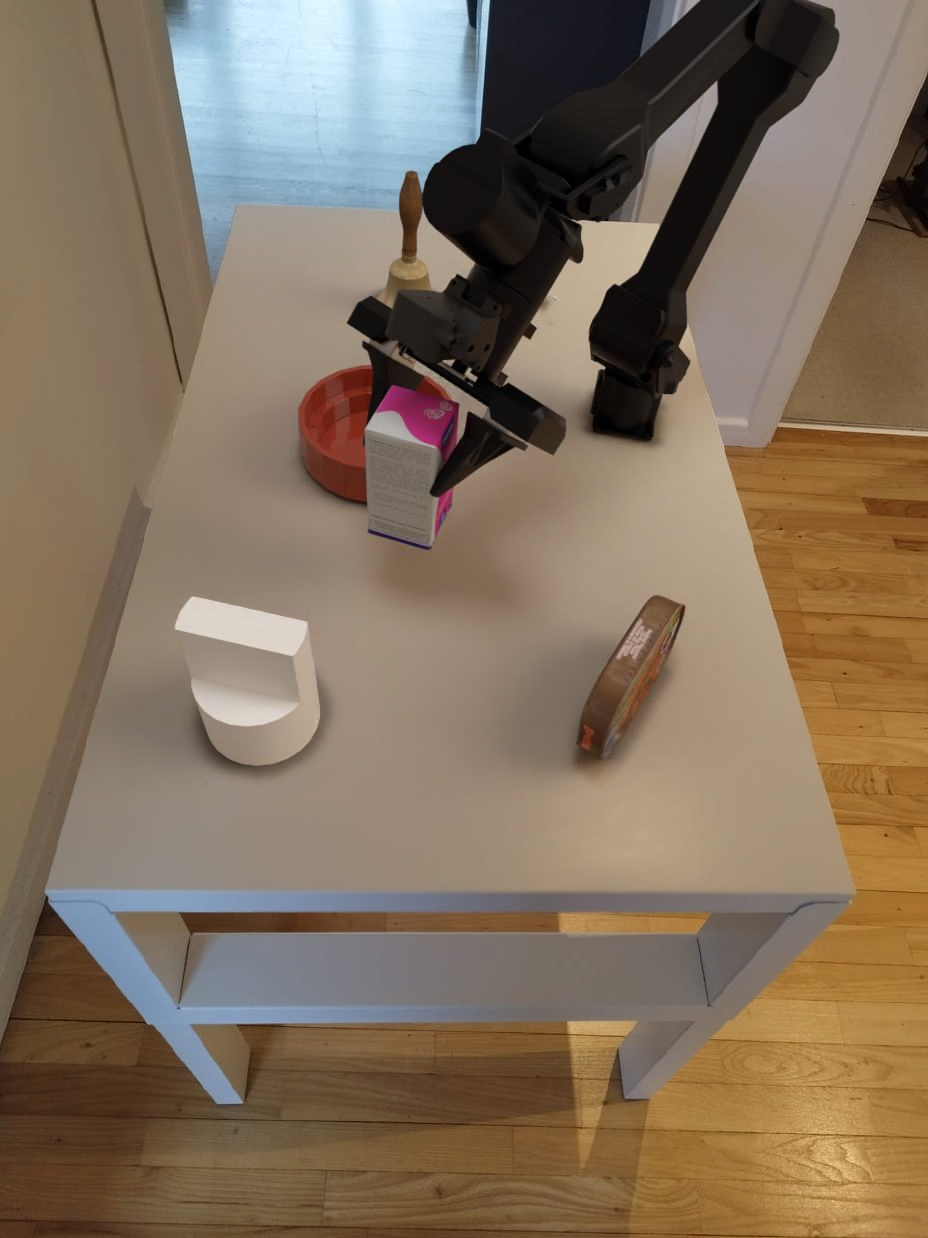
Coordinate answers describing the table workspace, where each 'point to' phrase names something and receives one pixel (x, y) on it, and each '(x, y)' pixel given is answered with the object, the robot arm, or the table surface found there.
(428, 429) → the supplement box
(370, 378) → the bowl
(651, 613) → the tin
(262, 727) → the base with upright slab
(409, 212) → the hand bell
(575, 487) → the table surface
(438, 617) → the table surface
